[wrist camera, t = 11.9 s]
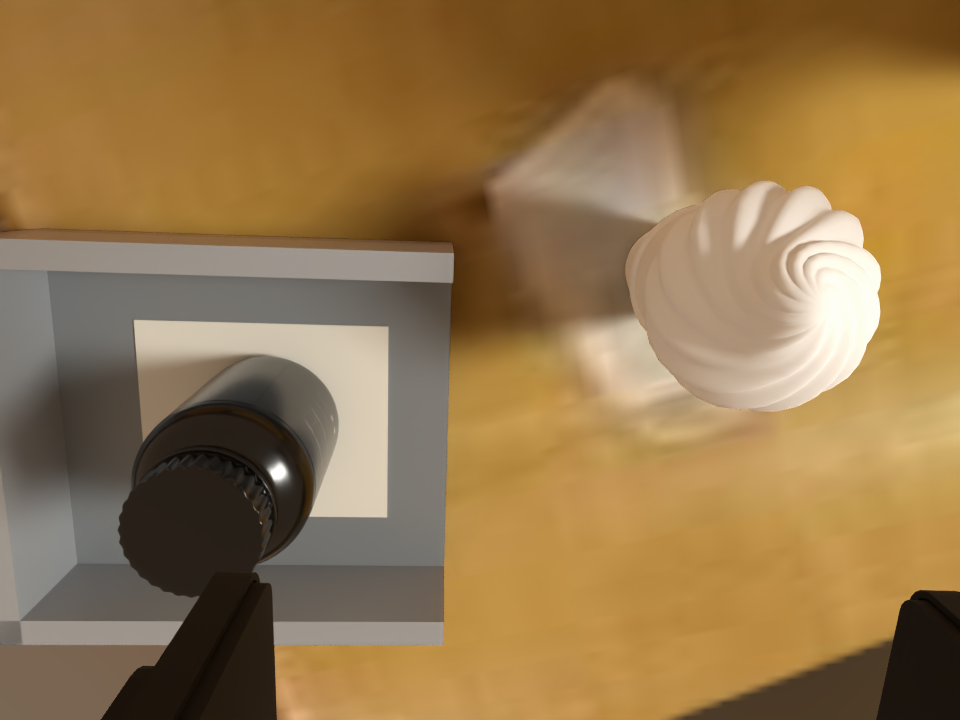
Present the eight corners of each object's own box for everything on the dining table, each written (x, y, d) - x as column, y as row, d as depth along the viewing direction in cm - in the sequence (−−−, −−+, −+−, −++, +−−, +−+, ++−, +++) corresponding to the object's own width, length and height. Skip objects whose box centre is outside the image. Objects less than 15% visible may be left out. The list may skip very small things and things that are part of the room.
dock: (451, 242, 35) (453, 253, 28) (443, 567, 39) (443, 645, 32) (40, 228, 34) (-61, 236, 27) (75, 564, 38) (-6, 644, 31)
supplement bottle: (212, 489, 35) (98, 633, 24) (192, 357, 34) (60, 442, 22) (349, 480, 36) (303, 618, 24) (336, 348, 34) (280, 428, 22)
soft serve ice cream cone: (777, 241, 36) (1030, 276, 20) (684, 376, 37) (855, 505, 22) (644, 152, 35) (808, 117, 19) (553, 296, 36) (637, 371, 21)
